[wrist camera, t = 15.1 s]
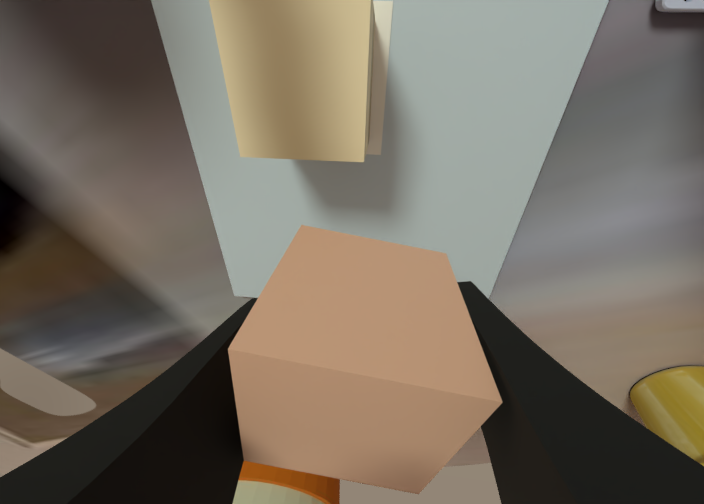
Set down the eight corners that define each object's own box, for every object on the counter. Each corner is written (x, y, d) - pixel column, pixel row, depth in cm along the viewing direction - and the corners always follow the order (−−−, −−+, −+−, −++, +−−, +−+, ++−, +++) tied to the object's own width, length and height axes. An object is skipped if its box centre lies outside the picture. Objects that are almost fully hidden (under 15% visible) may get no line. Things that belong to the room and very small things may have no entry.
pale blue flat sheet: (920, -821, 5) (989, -937, 4) (478, 311, 21) (481, 318, 20) (-17, -650, 6) (-55, -722, 6) (237, 291, 22) (234, 296, 22)
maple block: (375, 21, 12) (371, -17, 8) (369, 140, 14) (364, 162, 10) (267, 20, 12) (205, -15, 8) (280, 137, 15) (240, 157, 11)
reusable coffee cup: (292, 432, 35) (243, 624, 23) (224, 382, 30) (111, 592, 18) (372, 414, 31) (366, 640, 18) (307, 351, 26) (237, 604, 13)
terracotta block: (446, 253, 9) (502, 402, 5) (405, 346, 12) (418, 494, 7) (301, 224, 9) (227, 349, 5) (294, 324, 12) (243, 460, 7)
